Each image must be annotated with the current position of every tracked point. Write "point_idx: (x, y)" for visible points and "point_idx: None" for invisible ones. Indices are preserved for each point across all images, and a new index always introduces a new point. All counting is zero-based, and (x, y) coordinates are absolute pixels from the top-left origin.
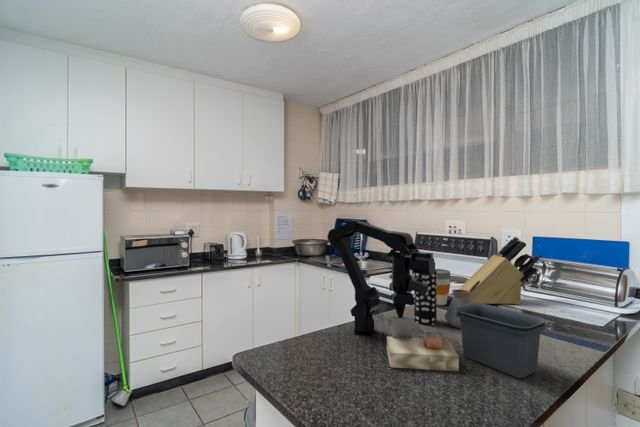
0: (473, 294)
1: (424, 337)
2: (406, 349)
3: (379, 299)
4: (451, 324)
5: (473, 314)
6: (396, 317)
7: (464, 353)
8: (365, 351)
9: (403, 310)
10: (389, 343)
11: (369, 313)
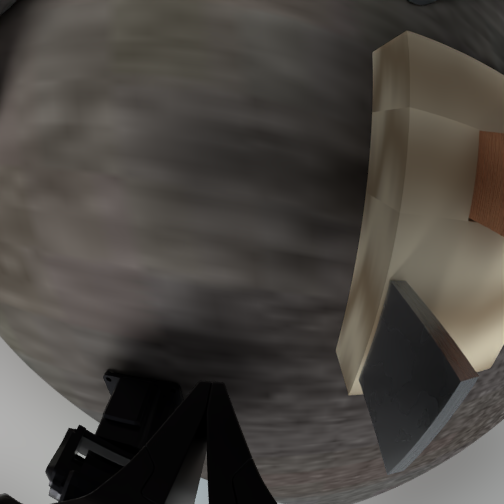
0: None
1: (495, 230)
2: (496, 319)
3: (67, 490)
4: (8, 4)
5: None
6: (407, 458)
7: (429, 2)
8: (346, 405)
9: (248, 455)
10: None
11: (128, 458)
